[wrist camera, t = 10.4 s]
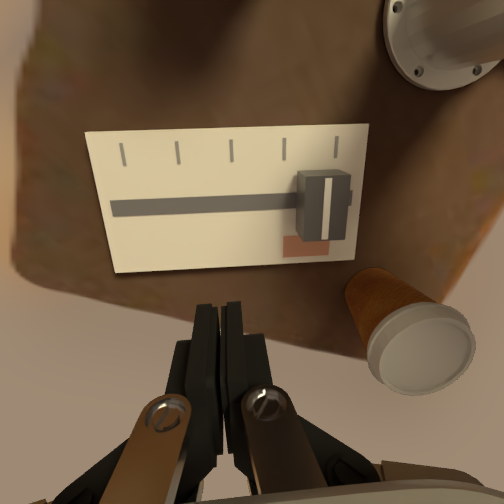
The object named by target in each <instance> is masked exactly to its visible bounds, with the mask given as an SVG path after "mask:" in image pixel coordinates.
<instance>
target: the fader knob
mask: <svg viewBox="0 0 504 504" xmlns="http://www.w3.org/2000/svg"><path fill="white" fill-rule="evenodd" d="M350 183H351V174H348V173H346V172H344V171H341V170H339V169H330V170H304V171H297V196H296V232H297V233H298V235H299V236H300V238H301V239H302V241H303V242H312V241H331V240H345V236H346V226H347V215H348V204H349V194H350Z"/></svg>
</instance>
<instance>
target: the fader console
mask: <svg viewBox="0 0 504 504" xmlns="http://www.w3.org/2000/svg"><path fill="white" fill-rule="evenodd" d="M368 129H369V124H332V125H299V126H266V127H232V128H199V129H166V130H132V131H99V132H85V137H86V141H87V146H88V150H89V155H90V160H91V164H92V169H93V173H94V178H95V183H96V187H97V192H98V196H99V201H100V206H101V210H102V215H103V219H104V224H105V229H106V233H107V238H108V242H109V247H110V252H111V256H112V261H113V265H114V270H115V273H125V272H143V271H161V270H179V269H197V268H215V267H233V266H251V265H269V264H287V263H305V262H323V261H341V260H354V258H355V249H356V240H357V230H358V221H359V212H360V203H361V194H362V184H363V175H364V166H365V157H366V148H367V138H368ZM330 169H339V170H341V171H344V172H346V173H348V174H351V183H350V194H349V204H348V215H347V226H346V236H345V240H331V241H312V242H303V241H302V239H301V238H300V236H299V235H298V233H297V232H296V196H297V171H304V170H330Z"/></svg>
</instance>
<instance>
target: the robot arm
mask: <svg viewBox="0 0 504 504" xmlns="http://www.w3.org/2000/svg"><path fill="white" fill-rule="evenodd" d="M392 7H393V8H394V9H395V12H393V8H392ZM383 34H384V40H385V46H386V49H387V51H388V54H389V57H390V60H391V61H392V63H393V65H394V66H395V68H396V70H397V71H398V72H399V73H400V74H401V75H402V76H403V77H404V78H405V79H406V80H407V81H409V82H410V83H412V84H413V85H415V86H417V87H420V88H423V89H426V90H434V91H442V90H451V89H455V88H459V87H463V86H465V85H468V84H470V83H472V82H474V81H476V80H478V79H479V78H481V77H482V76H484V75H485V74H487V73H488V72H489V71H490V70H491V69H492V68H493V67H495V66H496V65H497V64H498V63H499V62H500V61H501V60H502V59H504V0H385V5H384V12H383ZM414 71H416V74H414ZM223 413H224V422H225V430H226V439H227V448H228V454H231V453H233V455H234V465H235V467H236V468H238V469H239V470H240V471H241V472H242V473H243V474H244V475H246V476H247V481H248V487H249V492H250V496H244V497H235V498H227V499H218V500H209V501H201V498H202V493H203V484H204V481H203V479H204V478H205V477H206V476H207V474H208V473H209V472H210V471H211V470H212V469H213V468H214V467H217V466H216V465H217V455H223ZM30 504H504V492H502V491H498V490H495V489H491V488H488V487H485V486H484V485H483V484H481V483H480V482H479V481H478V480H477V479H476V478H474V477H472V476H471V475H469V474H467V473H465V472H462V471H458V470H455V469H447V468H438V467H430V466H423V465H415V464H407V463H399V462H390V461H383V460H382V461H381V464H372V463H371V462H370V461H369V460H367V459H366V458H365V457H364V456H362V455H361V454H359V453H358V452H356V451H355V450H353V449H351V448H350V447H348V446H347V445H345V444H344V443H342V442H340V441H339V440H337V439H336V438H334V437H332V436H331V435H329V434H328V433H326V432H324V431H323V430H321V429H320V428H318V427H316V426H315V425H313V424H312V423H310V422H309V421H307V420H305V419H304V418H302V417H301V416H299V415H297V413H296V411H295V408H294V406H293V404H292V401H291V399H290V397H289V396H288V394H287V393H286V392H285V391H284V390H283V389H281V388H279V387H277V386H275V385H273V383H272V377H271V372H270V366H269V361H268V355H267V350H266V344H265V338H264V334H263V333H260V334H248V335H243V323H242V311H241V301H235V302H227V306H222V307H221V336H220V327H219V318H218V309H217V307H212V304H199V305H197V308H196V314H195V320H194V327H193V333H192V339H191V340H181V341H177V343H176V346H175V351H174V355H173V360H172V364H171V369H170V373H169V378H168V382H167V387H166V391H165V395H162V396H159V397H157V398H155V399H154V400H152V401H150V402H149V403H148V404H147V405H146V406H145V407H144V409H143V410H142V412H141V414H140V416H139V418H138V420H137V422H136V424H135V426H134V429H133V431H132V433H131V435H130V437H129V438H128V439H127V440H125V441H124V442H123V443H122V444H121V445H119V446H118V447H117V448H115V449H114V450H113V451H112V452H110V453H109V454H108V455H107V456H105V457H104V458H103V459H102V460H100V461H99V462H98V463H97V464H95V465H94V466H93V467H91V468H90V469H89V470H88V471H86V472H85V473H84V474H83V475H82V476H80V477H79V478H78V479H76V480H75V481H74V482H73V483H71V484H70V485H69V486H68V487H66V488H65V489H64V490H63V491H62V492H61V493H60V494H59V495H58V496H57V497H56V498H55V499H54V501H51V502H48V503H47V502H46V499H43V500H39V501H36V502H33V503H30Z"/></svg>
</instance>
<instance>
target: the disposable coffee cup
mask: <svg viewBox="0 0 504 504" xmlns="http://www.w3.org/2000/svg"><path fill="white" fill-rule="evenodd" d="M345 300H346V303H347V305H348V307H349V310H350V312H351V315H352V317H353V319H354V322H355V324H356V327H357V329H358V332H359V334H360V336H361V339H362V342H363V344H364V346H365V349H366V351H367V362H368V365H369V369H370V371H371V372H372V374H373V376H374V377H375V378H376V379H377V380H378V381H380V382H381V383H383V384H385V385H386V386H387V387H389V388H390V389H391V390H393V391H394V392H397V393H400V394H403V395H410V396H417V395H425V394H430V393H433V392H436V391H439V390H441V389H443V388H445V387H447V386H449V385H450V384H452V383H453V382H455V381H456V380H457V379H458V378H459V377H460V376H461V375H463V373H464V372H465V371H466V370H467V369H468V367H469V365H470V364H471V362H472V360H473V356H474V353H475V350H476V342H475V337H474V335H473V334H472V332H471V330H470V326H469V324H468V322H467V319H466V318H465V317H464V316H463V315H462V314H461V313H460V312H458V311H457V310H455V309H454V308H452V307H449V306H446V305H443V304H439V303H437V302H435V301H433V300H432V299H430V298H429V297H427V296H426V295H424V294H422V293H421V292H419V291H418V290H416V289H414V288H413V287H411V286H410V285H408V284H406V283H405V282H403V281H402V280H400V279H398V278H397V277H395V276H394V275H392V274H391V273H389V272H388V271H386V270H384V269H381V268H368V269H364V270H362V271H360V272H358V273H357V274H355V275H354V276H353V277H352V278H351V279H350V281H349V282H348V284H347V286H346V289H345Z"/></svg>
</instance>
